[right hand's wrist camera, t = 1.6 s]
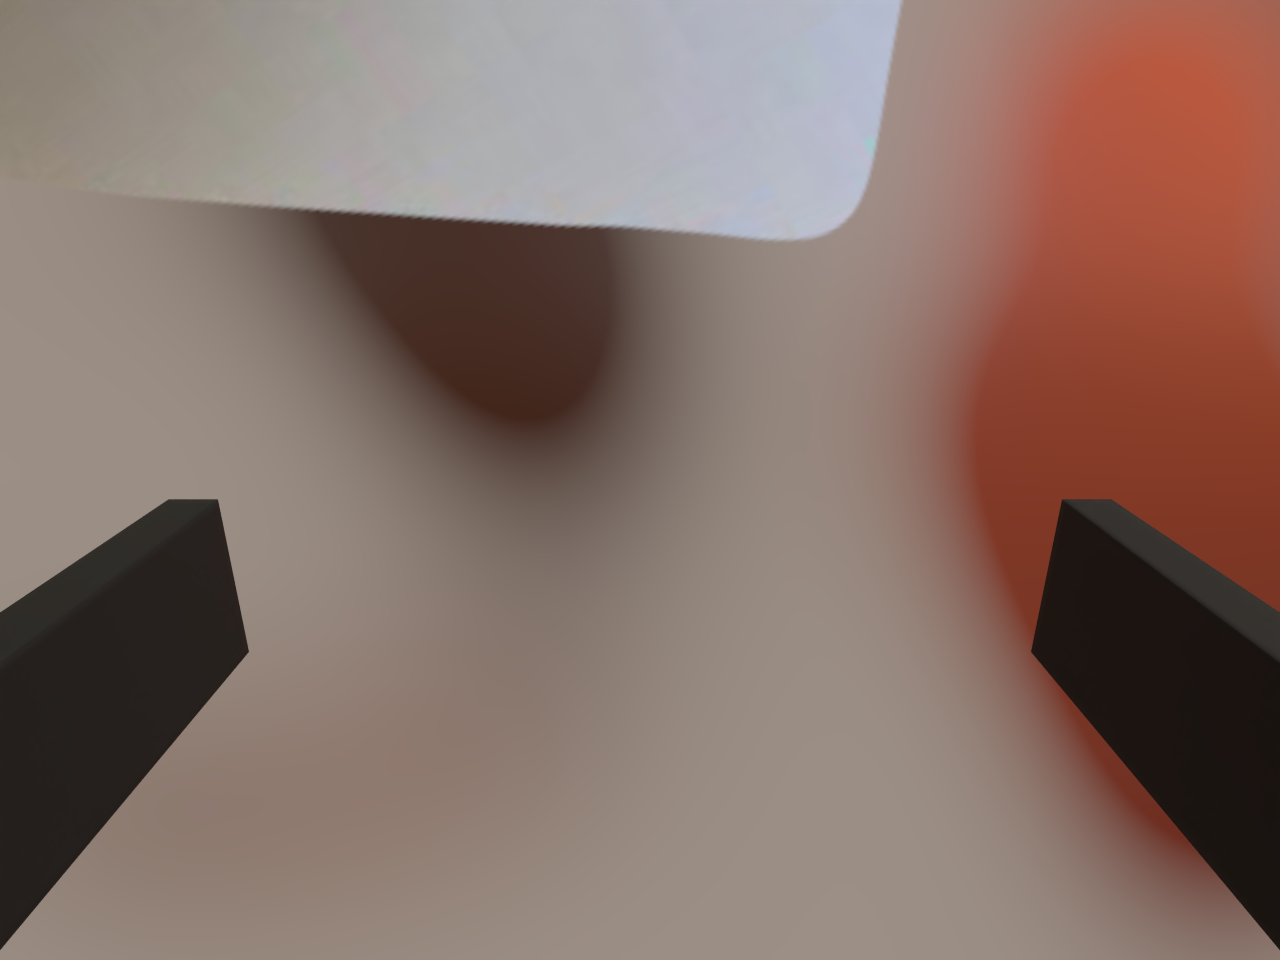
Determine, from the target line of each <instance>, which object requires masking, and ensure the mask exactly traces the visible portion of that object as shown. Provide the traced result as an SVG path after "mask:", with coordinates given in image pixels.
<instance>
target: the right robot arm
mask: <svg viewBox="0 0 1280 960" xmlns="http://www.w3.org/2000/svg"><path fill="white" fill-rule="evenodd" d="M248 652H249V650H248V645H247V640H246V635H245V631H244V626H243V621H242V616H241V611H240V606H239V601H238V596H237V591H236V586H235V581H234V577H233V571H232V567H231V562H230V557H229V552H228V547H227V542H226V537H225V532H224V527H223V522H222V517H221V512H220V508H219V503H218V500H217V499H213V500H212V499H209V500H208V499H207V500H205V499H199V500H197V499H192V500H189V499H188V500H187V499H180V500H179V499H174V500H172V499H169V500H167V501H166V502H164V503H163V504H161V505H160V506H158V507H157V508H155V509H154V510H152V511H151V512H149V513H148V514H146V515H145V516H143V517H142V518H140V519H139V520H137V521H136V522H134V523H133V524H131V525H130V526H128V527H127V528H126V529H124V530H122V531H121V532H120V533H118V534H116V535H115V536H114V537H112V538H110V539H109V540H108V541H106V542H105V543H103V544H102V545H100V546H99V547H97V548H96V549H94V550H93V551H91V552H90V553H88V554H87V555H85V556H84V557H82V558H81V559H79V560H78V561H76V562H75V563H73V564H72V565H70V566H69V567H67V568H66V569H64V570H63V571H61V572H60V573H58V574H57V575H55V576H54V577H52V578H51V579H49V580H48V581H47V582H45V583H44V584H42V585H41V586H39V587H38V588H36V589H35V590H33V591H32V592H30V593H29V594H27V595H26V596H24V597H23V598H21V599H20V600H18V601H17V602H15V603H14V604H12V605H11V606H9V607H8V608H6V609H5V610H3V611H2V612H0V950H1V948H2V947H3V946H4V945H5V944H6V942H7V941H8V940H9V939H10V938H11V936H12V935H13V934H14V933H15V932H16V930H17V929H18V928H19V927H20V926H21V924H22V923H23V922H24V921H25V920H26V918H27V917H28V916H29V915H30V914H31V912H32V911H33V910H34V909H35V908H36V906H37V905H38V904H39V903H40V902H41V900H42V899H43V898H44V897H45V896H46V894H47V893H48V892H49V891H50V890H51V888H52V887H53V886H54V885H55V884H56V882H57V881H58V880H59V879H60V878H61V876H62V875H63V874H64V873H65V872H66V870H67V869H68V868H69V867H70V866H71V864H72V863H73V862H74V861H75V860H76V858H77V857H78V856H79V855H80V854H81V852H82V851H83V850H84V849H85V848H86V846H87V845H88V844H89V843H90V842H91V840H92V839H93V838H94V837H95V836H96V834H97V833H98V832H99V831H100V830H101V829H102V827H103V826H104V825H105V824H106V823H107V821H108V820H109V819H110V818H111V817H112V815H113V814H114V813H115V812H116V811H117V809H118V808H119V807H120V806H121V804H122V803H123V802H124V801H125V800H126V799H127V797H128V796H129V795H130V794H131V793H132V791H133V790H134V789H135V788H136V787H137V785H138V784H139V783H140V782H141V781H142V779H143V778H144V777H145V776H146V775H147V773H148V772H149V771H150V770H151V769H152V767H153V766H154V765H155V764H156V763H157V761H158V760H159V759H160V758H161V757H162V755H163V754H164V753H165V752H166V751H167V749H168V748H169V747H170V746H171V745H172V743H173V742H174V741H175V740H176V739H177V737H178V736H179V735H180V734H181V733H182V731H183V730H184V729H185V728H186V727H187V725H188V724H189V723H190V722H191V721H192V719H193V718H194V717H195V716H196V715H197V713H198V712H199V711H200V710H201V709H202V707H203V706H204V705H205V704H206V703H207V701H208V700H209V699H210V698H211V697H212V695H213V694H214V693H215V692H216V691H217V689H218V688H219V687H220V686H221V685H222V683H223V682H224V681H225V680H226V678H227V677H228V676H229V675H230V674H231V673H232V671H233V670H234V669H235V668H236V667H237V665H238V664H239V663H240V662H241V661H242V659H243V658H244V657H245V656H246V655H247V653H248ZM1031 652H1032V653H1033V655H1034V656H1035V657H1036V658H1037V659H1038V661H1039V662H1040V663H1041V664H1042V665H1043V667H1044V668H1045V669H1046V670H1047V671H1048V673H1049V674H1050V675H1051V676H1052V677H1053V679H1054V680H1055V681H1056V682H1057V683H1058V685H1059V686H1060V687H1061V688H1062V689H1063V691H1064V692H1065V693H1066V694H1067V695H1068V697H1069V698H1070V699H1071V700H1072V701H1073V703H1074V704H1075V705H1076V706H1077V707H1078V709H1079V710H1080V711H1081V712H1082V713H1083V715H1084V716H1085V717H1086V718H1087V719H1088V721H1089V722H1090V723H1091V724H1092V725H1093V727H1094V728H1095V729H1096V730H1097V731H1098V733H1099V734H1100V735H1101V736H1102V737H1103V739H1104V740H1105V741H1106V742H1107V743H1108V745H1109V746H1110V747H1111V748H1112V749H1113V751H1114V752H1115V753H1116V754H1117V755H1118V757H1119V758H1120V759H1121V760H1122V761H1123V763H1124V764H1125V765H1126V766H1127V767H1128V769H1129V770H1130V771H1131V772H1132V773H1133V775H1134V776H1135V777H1136V778H1137V779H1138V781H1139V782H1140V783H1141V784H1142V785H1143V787H1144V788H1145V789H1146V790H1147V791H1148V793H1149V794H1150V795H1151V796H1152V797H1153V799H1154V800H1155V801H1156V802H1157V803H1158V805H1159V806H1160V807H1161V808H1162V809H1163V810H1164V812H1165V813H1166V814H1167V815H1168V817H1169V818H1170V819H1171V820H1172V821H1173V823H1174V824H1175V825H1176V826H1177V827H1178V829H1179V830H1180V831H1181V832H1182V833H1183V835H1184V836H1185V837H1186V838H1187V839H1188V841H1189V842H1190V843H1191V844H1192V845H1193V846H1194V848H1195V849H1196V850H1197V851H1198V852H1199V854H1200V855H1201V856H1202V857H1203V858H1204V860H1205V861H1206V862H1207V863H1208V864H1209V866H1210V867H1211V868H1212V869H1213V870H1214V872H1215V873H1216V874H1217V875H1218V876H1219V878H1220V879H1221V880H1222V881H1223V882H1224V884H1225V885H1226V886H1227V887H1228V888H1229V890H1230V891H1231V892H1232V893H1233V894H1234V896H1235V897H1236V898H1237V899H1238V900H1239V902H1240V903H1241V904H1242V905H1243V906H1244V908H1245V909H1246V910H1247V911H1248V912H1249V914H1250V915H1251V916H1252V917H1253V918H1254V920H1255V921H1256V922H1257V923H1258V924H1259V926H1260V927H1261V928H1262V929H1263V930H1264V932H1265V933H1266V934H1267V935H1268V936H1269V938H1270V939H1271V940H1272V941H1273V942H1274V944H1275V945H1276V946H1277V947H1278V948H1279V950H1280V612H1278V611H1277V610H1275V609H1274V608H1272V607H1271V606H1269V605H1268V604H1266V603H1265V602H1263V601H1262V600H1260V599H1259V598H1257V597H1256V596H1254V595H1253V594H1251V593H1250V592H1248V591H1247V590H1245V589H1244V588H1242V587H1241V586H1239V585H1238V584H1237V583H1235V582H1234V581H1232V580H1231V579H1229V578H1228V577H1226V576H1225V575H1223V574H1222V573H1220V572H1219V571H1217V570H1216V569H1214V568H1213V567H1211V566H1210V565H1208V564H1207V563H1205V562H1204V561H1202V560H1201V559H1199V558H1198V557H1196V556H1195V555H1193V554H1192V553H1190V552H1189V551H1187V550H1186V549H1184V548H1183V547H1181V546H1180V545H1178V544H1177V543H1175V542H1174V541H1172V540H1171V539H1170V538H1168V537H1167V536H1165V535H1164V534H1162V533H1161V532H1159V531H1158V530H1156V529H1155V528H1153V527H1152V526H1150V525H1149V524H1147V523H1146V522H1144V521H1143V520H1141V519H1140V518H1138V517H1137V516H1135V515H1134V514H1132V513H1131V512H1129V511H1128V510H1126V509H1125V508H1123V507H1122V506H1120V505H1119V504H1117V503H1116V502H1114V501H1113V500H1111V499H1110V500H1106V499H1105V500H1104V499H1102V500H1099V499H1097V500H1095V499H1093V500H1091V499H1087V500H1085V499H1083V500H1082V499H1073V500H1072V499H1070V500H1068V499H1063V500H1062V503H1061V508H1060V512H1059V517H1058V522H1057V527H1056V532H1055V537H1054V542H1053V547H1052V552H1051V557H1050V562H1049V566H1048V571H1047V576H1046V581H1045V586H1044V591H1043V596H1042V601H1041V606H1040V611H1039V616H1038V621H1037V626H1036V630H1035V635H1034V640H1033V645H1032V650H1031Z"/></svg>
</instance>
